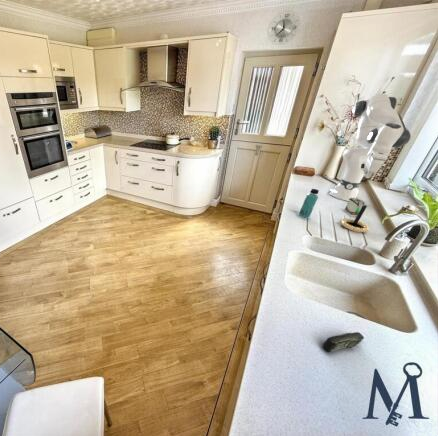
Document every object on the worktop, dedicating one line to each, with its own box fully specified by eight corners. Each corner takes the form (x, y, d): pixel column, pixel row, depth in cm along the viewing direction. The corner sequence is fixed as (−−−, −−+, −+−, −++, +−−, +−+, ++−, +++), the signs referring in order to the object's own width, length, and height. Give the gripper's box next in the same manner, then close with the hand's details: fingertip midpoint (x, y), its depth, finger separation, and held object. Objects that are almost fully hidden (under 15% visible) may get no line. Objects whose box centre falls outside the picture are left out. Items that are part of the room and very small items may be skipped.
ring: (340, 218, 153) (341, 215, 151) (366, 225, 146) (368, 222, 145) (340, 227, 143) (342, 224, 142) (369, 235, 136) (371, 232, 135)
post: (342, 221, 153) (354, 200, 145) (362, 226, 148) (374, 205, 140) (343, 227, 145) (355, 206, 138) (363, 233, 141) (377, 211, 133)
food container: (362, 219, 156) (370, 206, 151) (352, 217, 157) (360, 204, 152) (352, 210, 167) (359, 198, 162) (343, 209, 168) (349, 197, 162)
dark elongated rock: (334, 345, 73) (371, 335, 76) (325, 337, 75) (361, 327, 78) (327, 354, 75) (363, 344, 78) (319, 345, 78) (354, 336, 81)
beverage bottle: (308, 216, 157) (320, 188, 147) (309, 220, 151) (322, 192, 141) (297, 213, 159) (308, 186, 149) (298, 218, 154) (310, 190, 144)
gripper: (369, 149, 146) (358, 170, 153) (373, 155, 131) (361, 179, 138) (382, 151, 143) (370, 172, 150) (388, 158, 128) (374, 181, 135)
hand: (366, 175), depth 144 cm, fingers open, 8 cm apart
